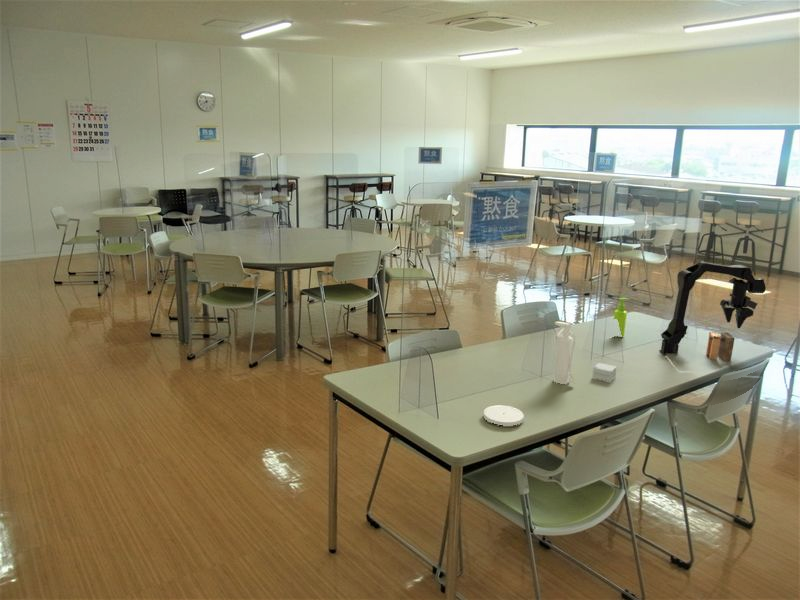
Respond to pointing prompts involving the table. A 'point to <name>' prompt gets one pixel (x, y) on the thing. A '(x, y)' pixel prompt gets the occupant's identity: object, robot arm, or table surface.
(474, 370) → the table surface
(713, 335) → the C-link
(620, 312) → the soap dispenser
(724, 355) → the walnut stand
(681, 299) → the robot arm
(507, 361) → the table surface
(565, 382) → the spray bottle
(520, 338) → the table surface
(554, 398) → the table surface
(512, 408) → the plastic lid
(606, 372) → the small box
